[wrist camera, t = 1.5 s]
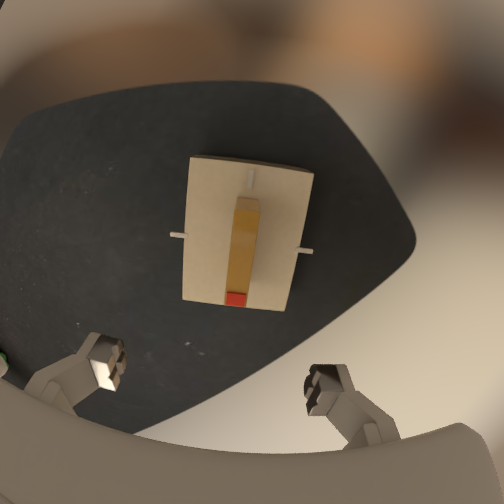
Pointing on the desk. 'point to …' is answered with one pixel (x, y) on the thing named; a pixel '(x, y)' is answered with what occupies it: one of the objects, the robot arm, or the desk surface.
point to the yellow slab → (242, 251)
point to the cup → (3, 364)
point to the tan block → (221, 220)
